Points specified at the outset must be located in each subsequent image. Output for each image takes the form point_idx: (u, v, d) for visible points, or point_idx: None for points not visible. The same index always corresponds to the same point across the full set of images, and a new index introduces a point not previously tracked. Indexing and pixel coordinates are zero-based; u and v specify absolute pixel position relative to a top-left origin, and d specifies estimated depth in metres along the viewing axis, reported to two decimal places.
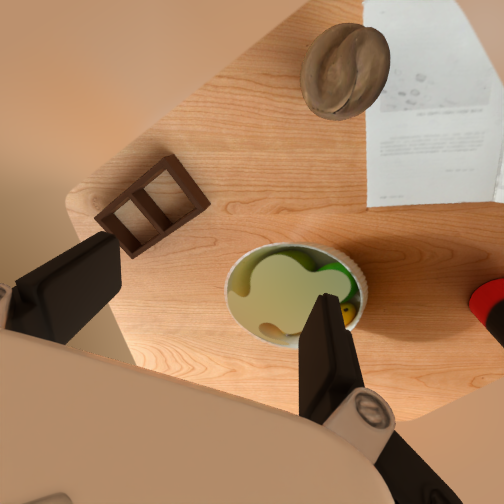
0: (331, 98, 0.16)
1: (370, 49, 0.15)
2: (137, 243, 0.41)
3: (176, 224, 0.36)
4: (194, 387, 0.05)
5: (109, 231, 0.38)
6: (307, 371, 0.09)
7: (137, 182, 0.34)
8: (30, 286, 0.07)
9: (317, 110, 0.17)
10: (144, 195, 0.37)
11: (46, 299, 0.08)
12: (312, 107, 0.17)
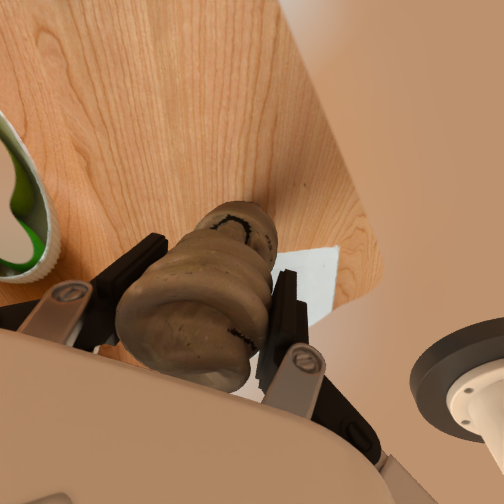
0: (134, 339, 0.08)
1: (218, 380, 0.09)
2: None
3: None
4: (194, 387, 0.05)
5: None
6: None
7: None
8: (109, 282, 0.08)
9: (116, 310, 0.08)
10: None
11: (119, 294, 0.09)
12: (120, 299, 0.08)
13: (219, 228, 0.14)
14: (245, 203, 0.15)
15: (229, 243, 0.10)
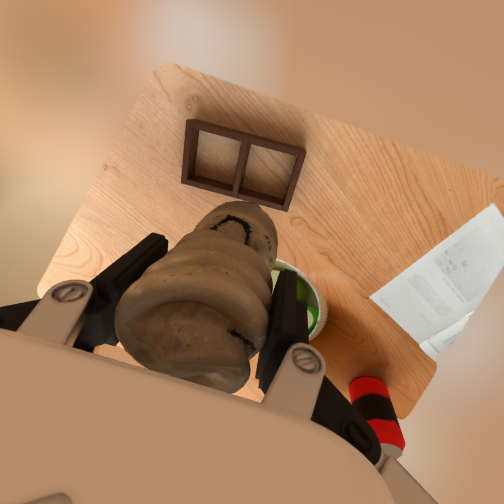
0: (133, 340, 0.08)
1: (217, 381, 0.09)
2: (193, 170, 0.37)
3: (254, 199, 0.35)
4: (194, 387, 0.05)
5: (188, 144, 0.33)
6: None
7: (263, 142, 0.31)
8: (109, 282, 0.08)
9: (115, 311, 0.08)
10: (248, 149, 0.34)
11: (119, 294, 0.09)
12: (120, 300, 0.08)
13: (219, 228, 0.14)
14: (245, 203, 0.15)
15: (229, 243, 0.10)
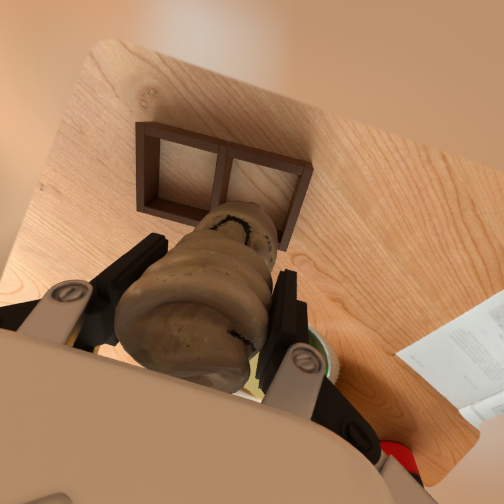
0: (133, 340, 0.08)
1: (217, 381, 0.09)
2: (156, 192, 0.27)
3: None
4: (194, 387, 0.05)
5: (141, 157, 0.23)
6: None
7: (249, 154, 0.21)
8: (109, 282, 0.08)
9: (115, 311, 0.08)
10: (230, 164, 0.24)
11: (119, 294, 0.09)
12: (120, 301, 0.08)
13: (219, 228, 0.14)
14: (245, 203, 0.15)
15: (229, 243, 0.10)
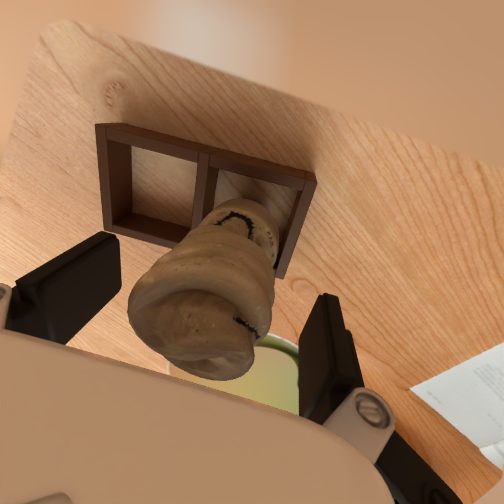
0: (145, 326, 0.08)
1: (223, 366, 0.09)
2: (129, 207, 0.22)
3: None
4: (194, 387, 0.05)
5: (104, 167, 0.18)
6: (307, 371, 0.09)
7: (237, 164, 0.17)
8: (30, 286, 0.07)
9: (128, 299, 0.09)
10: (215, 174, 0.20)
11: (46, 299, 0.08)
12: (133, 289, 0.08)
13: (223, 224, 0.14)
14: (247, 201, 0.16)
15: (233, 237, 0.11)
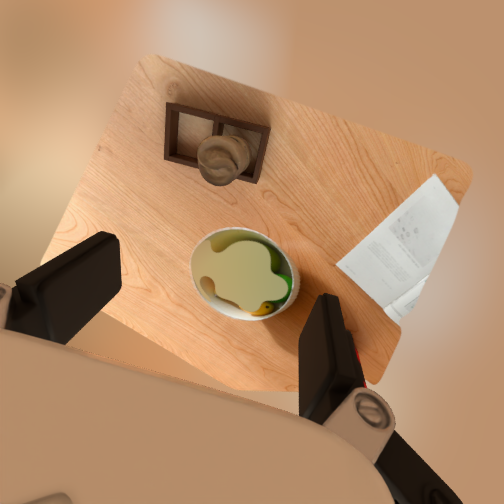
0: (203, 156, 0.28)
1: (226, 174, 0.29)
2: (175, 149, 0.42)
3: None
4: (194, 387, 0.05)
5: (168, 124, 0.38)
6: (307, 371, 0.09)
7: (232, 121, 0.36)
8: (30, 286, 0.07)
9: None
10: (221, 128, 0.39)
11: (46, 299, 0.08)
12: (199, 145, 0.28)
13: None
14: None
15: (229, 138, 0.30)
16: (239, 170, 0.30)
